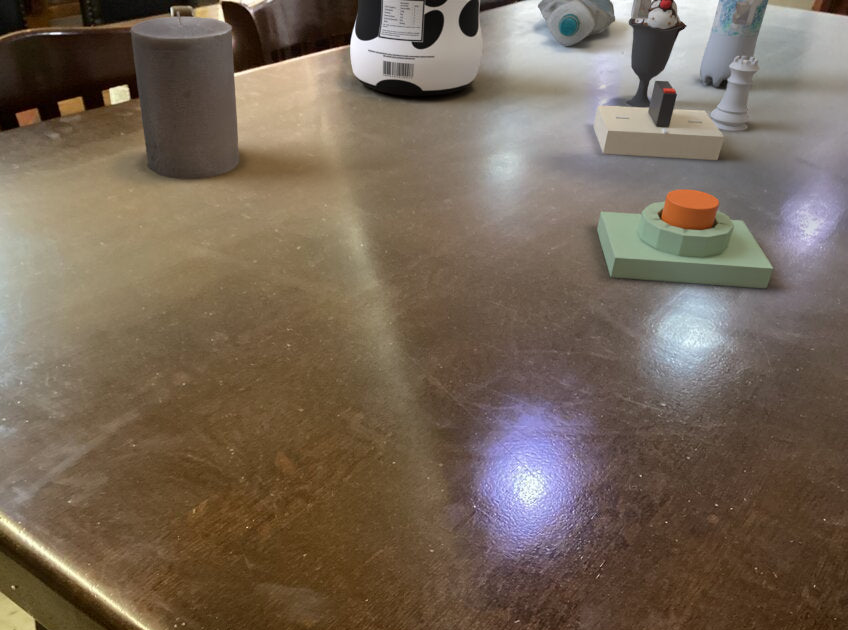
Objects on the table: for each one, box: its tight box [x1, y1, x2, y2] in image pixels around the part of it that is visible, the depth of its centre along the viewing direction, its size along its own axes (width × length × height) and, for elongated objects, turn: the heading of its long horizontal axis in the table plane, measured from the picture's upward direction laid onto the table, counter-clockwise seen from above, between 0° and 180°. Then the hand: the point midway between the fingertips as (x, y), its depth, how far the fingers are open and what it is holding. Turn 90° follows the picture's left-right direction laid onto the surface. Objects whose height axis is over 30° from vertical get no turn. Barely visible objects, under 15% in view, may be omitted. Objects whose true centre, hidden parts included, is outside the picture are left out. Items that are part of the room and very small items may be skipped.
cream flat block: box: [593, 104, 725, 161], centre depth 91 cm, size 12×9×3 cm
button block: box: [596, 200, 774, 289], centre depth 67 cm, size 12×9×4 cm
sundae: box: [624, 0, 688, 108], centre depth 99 cm, size 7×7×15 cm
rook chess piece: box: [710, 56, 761, 132], centre depth 95 cm, size 4×4×8 cm
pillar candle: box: [130, 10, 240, 180], centre depth 81 cm, size 10×10×15 cm
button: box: [661, 188, 720, 230], centre depth 66 cm, size 4×4×2 cm
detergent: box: [537, 0, 616, 47], centre depth 134 cm, size 13×7×25 cm
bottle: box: [699, 0, 769, 88], centre depth 107 cm, size 7×7×20 cm
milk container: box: [349, 0, 484, 97], centre depth 105 cm, size 17×17×18 cm
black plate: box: [648, 80, 678, 127], centre depth 89 cm, size 5×1×4 cm, turn 172°
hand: (689, 20), depth 79 cm, fingers open, 8 cm apart
